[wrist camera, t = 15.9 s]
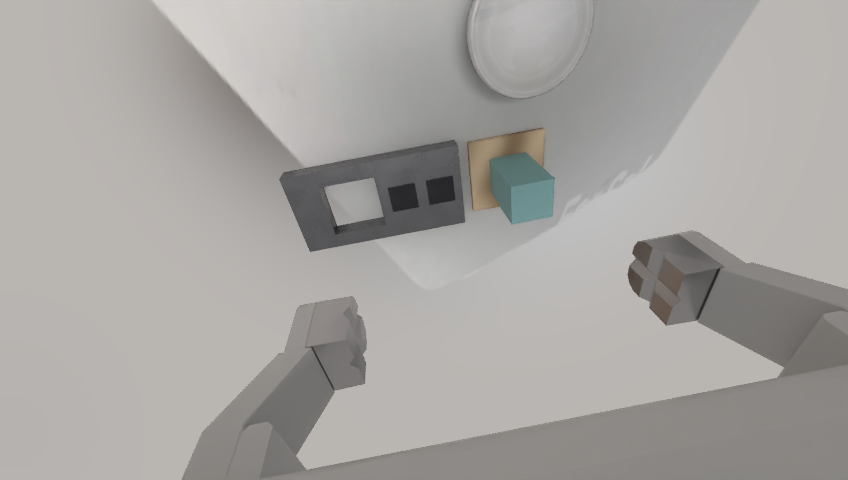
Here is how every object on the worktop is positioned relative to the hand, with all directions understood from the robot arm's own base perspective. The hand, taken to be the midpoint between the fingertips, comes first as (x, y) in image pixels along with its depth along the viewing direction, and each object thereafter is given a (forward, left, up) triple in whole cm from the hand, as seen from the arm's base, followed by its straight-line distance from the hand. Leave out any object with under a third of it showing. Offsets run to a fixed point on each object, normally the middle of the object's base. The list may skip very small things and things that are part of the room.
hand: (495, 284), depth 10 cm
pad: (-10, +11, -31) cm, 34 cm away
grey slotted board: (+6, +11, -31) cm, 33 cm away
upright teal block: (-10, +11, -30) cm, 34 cm away
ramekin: (-11, -4, -31) cm, 34 cm away
